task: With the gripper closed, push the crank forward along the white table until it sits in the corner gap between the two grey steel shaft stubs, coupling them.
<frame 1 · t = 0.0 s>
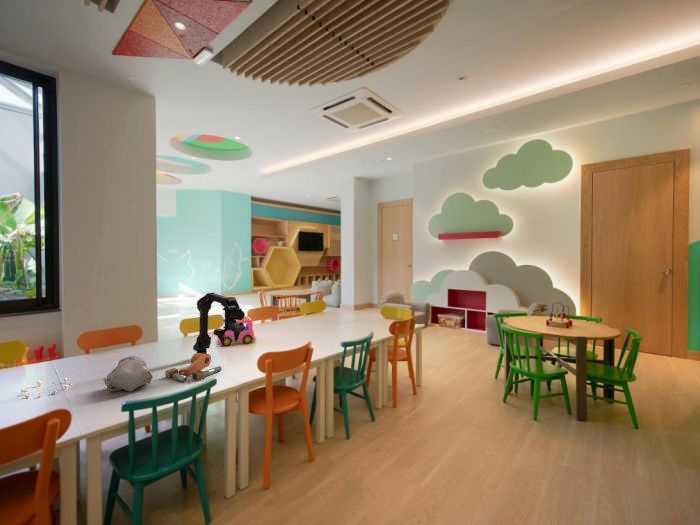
hand: (229, 343, 197), 15 cm above the table, fingers open, 9 cm apart
grey rock: (128, 389, 166), on the table
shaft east: (207, 375, 185), on the table
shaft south: (176, 379, 179), on the table
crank: (194, 370, 193), on the table
game piece set: (47, 391, 163), on the table
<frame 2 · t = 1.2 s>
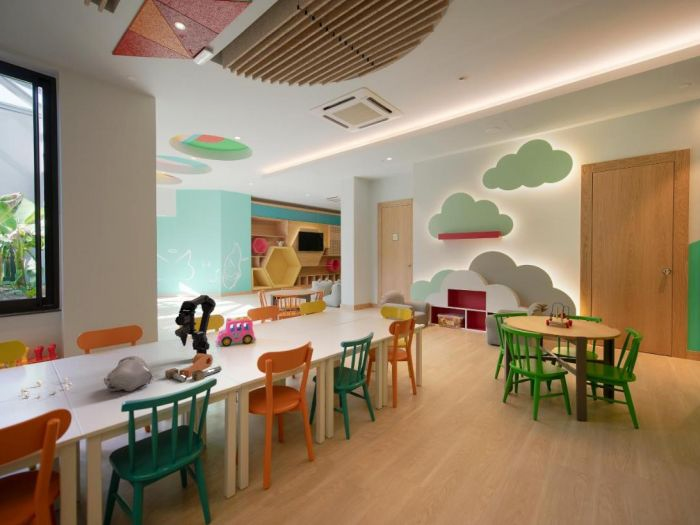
hand: (189, 346, 197), 12 cm above the table, fingers open, 9 cm apart
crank: (195, 370, 193), on the table
everything else where it was.
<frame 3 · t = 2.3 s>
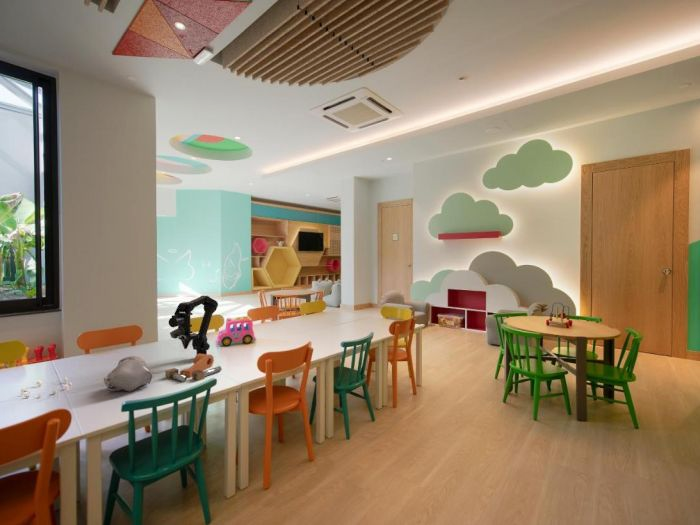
hand: (185, 348, 198), 11 cm above the table, fingers closed
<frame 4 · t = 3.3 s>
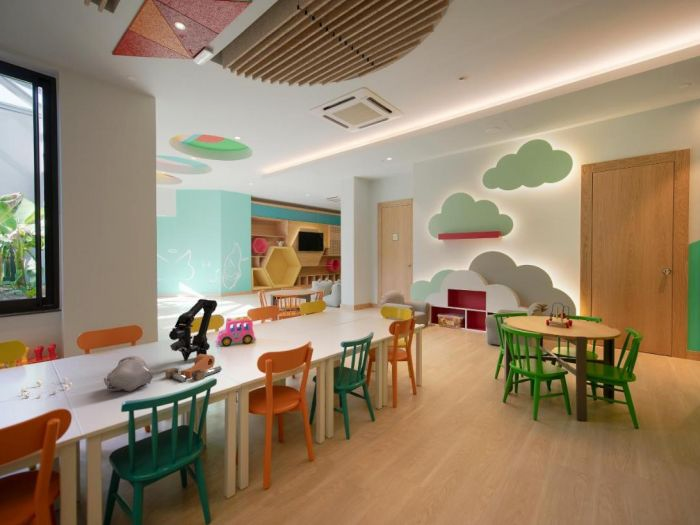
hand: (185, 360, 198), 4 cm above the table, fingers closed
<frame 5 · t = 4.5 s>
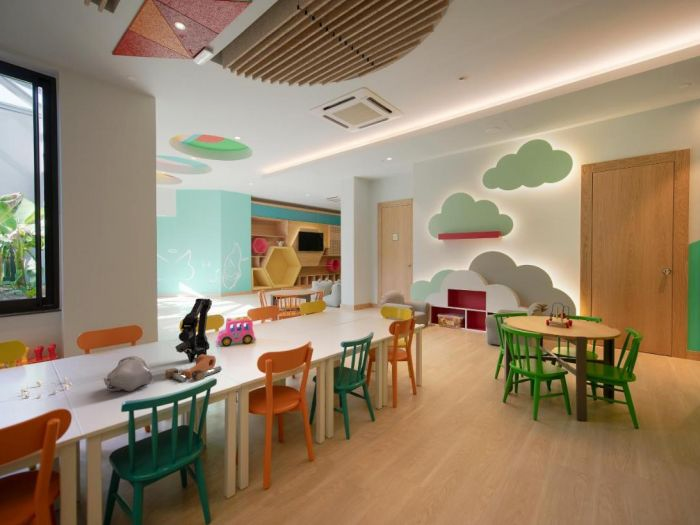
hand: (191, 362, 195), 4 cm above the table, fingers closed
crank: (198, 372, 191), on the table
everything else where it was.
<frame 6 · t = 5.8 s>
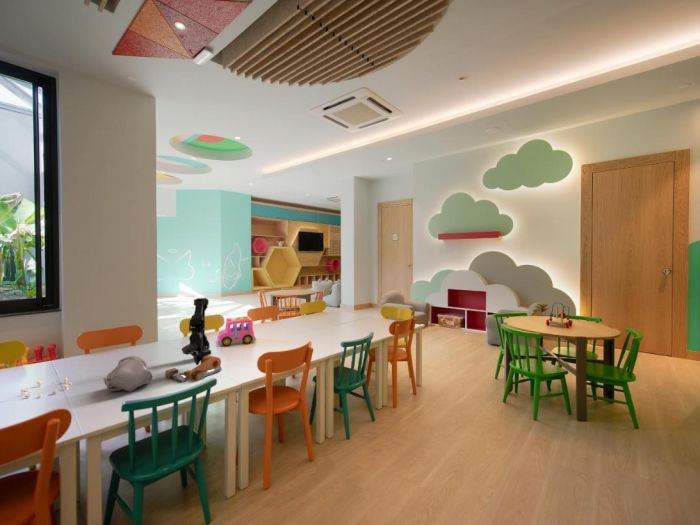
hand: (197, 364, 192), 4 cm above the table, fingers closed
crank: (202, 373, 190), on the table
everything else where it was.
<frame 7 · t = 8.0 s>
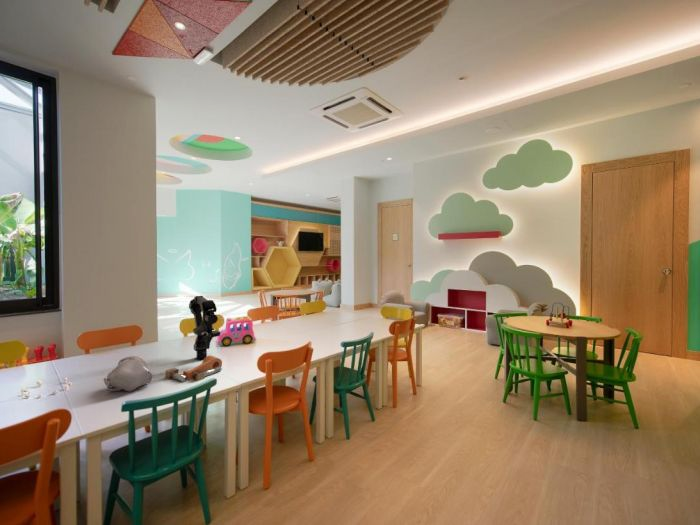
hand: (207, 345, 202), 12 cm above the table, fingers closed
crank: (202, 373, 189), on the table
everything else where it was.
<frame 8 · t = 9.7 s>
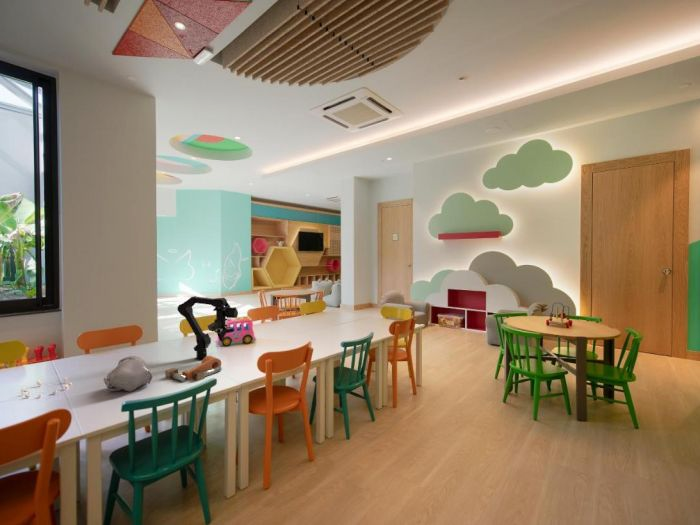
hand: (221, 341, 211), 12 cm above the table, fingers closed
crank: (201, 373, 188), on the table, touching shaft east
everything else where it was.
at the end: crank inside the target area (1.4 cm from its centre), on the table; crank moved 8.4 cm from its start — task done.
